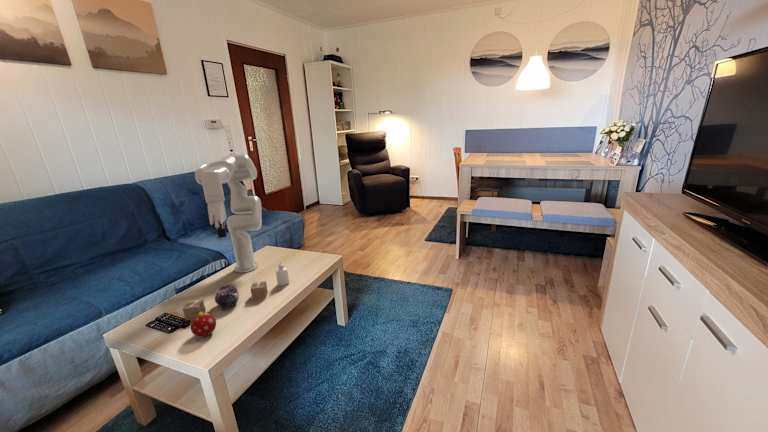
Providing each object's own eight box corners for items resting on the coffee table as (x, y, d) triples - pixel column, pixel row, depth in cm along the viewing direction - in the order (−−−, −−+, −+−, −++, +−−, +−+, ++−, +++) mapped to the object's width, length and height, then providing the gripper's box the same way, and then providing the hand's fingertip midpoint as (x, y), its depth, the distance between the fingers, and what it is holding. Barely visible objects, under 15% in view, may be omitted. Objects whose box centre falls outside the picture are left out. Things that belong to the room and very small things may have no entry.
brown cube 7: (190, 313, 136) (187, 300, 134) (205, 311, 137) (202, 298, 136) (185, 321, 131) (182, 308, 129) (201, 318, 132) (198, 306, 130)
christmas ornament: (214, 339, 118) (209, 316, 116) (189, 343, 117) (183, 320, 114) (220, 325, 126) (216, 304, 124) (197, 329, 125) (192, 307, 122)
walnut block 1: (254, 294, 150) (252, 282, 148) (267, 292, 151) (265, 280, 149) (252, 300, 144) (250, 288, 142) (266, 298, 146) (264, 286, 144)
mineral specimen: (221, 295, 146) (225, 277, 143) (241, 304, 146) (246, 286, 143) (207, 306, 137) (211, 287, 134) (228, 315, 137) (233, 297, 134)
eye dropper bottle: (280, 281, 161) (276, 260, 157) (290, 281, 160) (287, 260, 156) (276, 285, 156) (272, 264, 153) (286, 286, 156) (283, 264, 152)
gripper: (210, 195, 144) (218, 232, 149) (200, 202, 130) (209, 243, 135) (228, 193, 146) (235, 230, 151) (219, 201, 132) (227, 241, 137)
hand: (222, 236), depth 143 cm, fingers closed
